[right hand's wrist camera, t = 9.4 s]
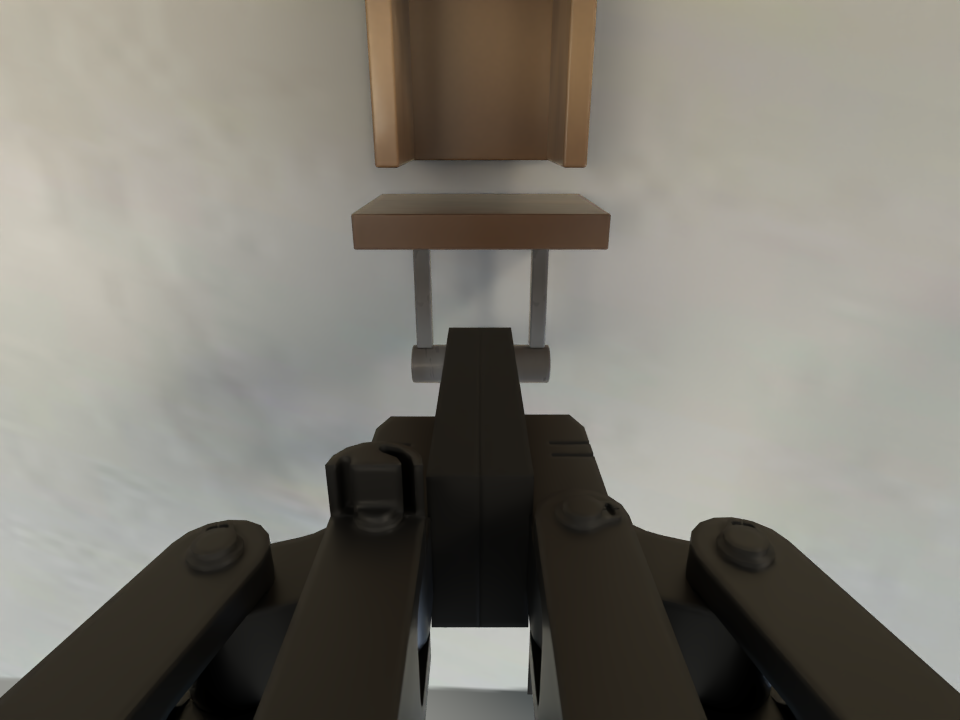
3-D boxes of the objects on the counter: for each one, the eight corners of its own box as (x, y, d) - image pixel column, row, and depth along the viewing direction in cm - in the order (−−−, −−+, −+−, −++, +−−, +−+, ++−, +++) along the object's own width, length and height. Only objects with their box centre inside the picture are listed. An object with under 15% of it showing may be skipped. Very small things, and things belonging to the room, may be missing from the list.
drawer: (571, 341, 28) (596, 399, 22) (390, 341, 28) (365, 399, 22) (613, -354, 19) (674, -576, 13) (348, -354, 19) (288, -576, 13)
